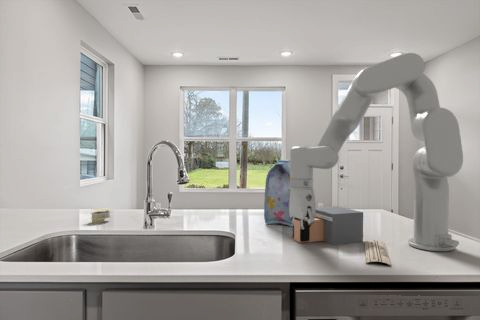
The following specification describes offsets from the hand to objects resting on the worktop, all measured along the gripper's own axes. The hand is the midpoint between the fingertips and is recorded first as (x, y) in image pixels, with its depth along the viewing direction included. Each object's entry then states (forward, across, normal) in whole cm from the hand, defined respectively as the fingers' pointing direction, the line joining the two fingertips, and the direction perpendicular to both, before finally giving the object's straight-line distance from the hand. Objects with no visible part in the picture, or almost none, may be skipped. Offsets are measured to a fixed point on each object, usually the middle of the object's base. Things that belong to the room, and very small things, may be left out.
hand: (300, 238), depth 115 cm
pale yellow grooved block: (+1, +57, +63) cm, 85 cm away
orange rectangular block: (+1, 0, -8) cm, 8 cm away
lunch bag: (+1, +32, -12) cm, 34 cm away
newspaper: (+2, -20, -14) cm, 24 cm away
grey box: (+1, 0, -13) cm, 13 cm away
